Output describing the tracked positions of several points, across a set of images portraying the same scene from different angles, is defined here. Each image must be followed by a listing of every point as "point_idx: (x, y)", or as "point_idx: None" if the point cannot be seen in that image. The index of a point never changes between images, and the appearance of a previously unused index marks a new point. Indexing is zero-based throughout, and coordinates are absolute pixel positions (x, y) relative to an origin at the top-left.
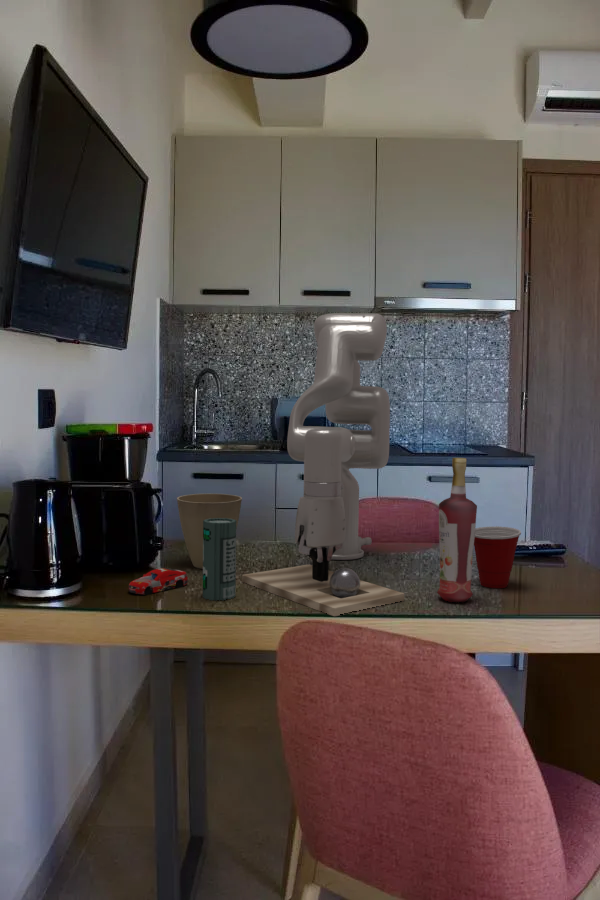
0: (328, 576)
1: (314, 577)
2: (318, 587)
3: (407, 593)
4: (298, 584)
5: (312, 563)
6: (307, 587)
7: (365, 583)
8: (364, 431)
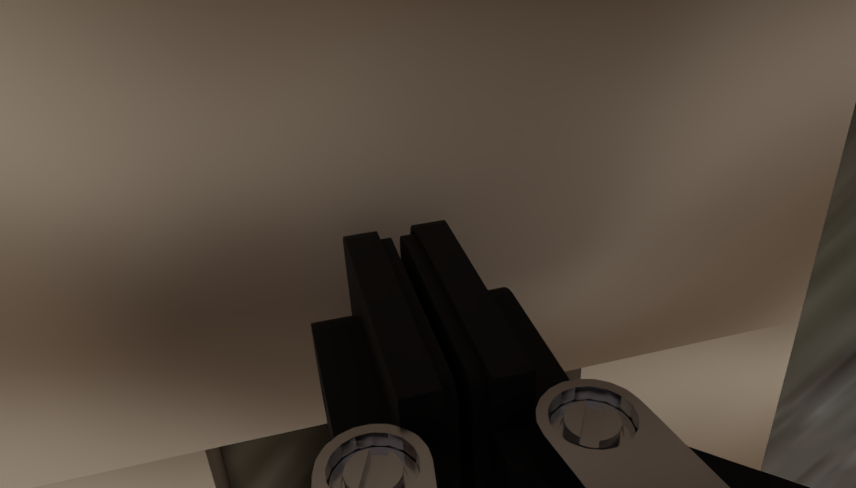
0: (699, 17)
1: (349, 279)
2: (285, 389)
3: (843, 475)
4: (120, 206)
5: (333, 431)
6: (168, 354)
7: (744, 391)
8: None
